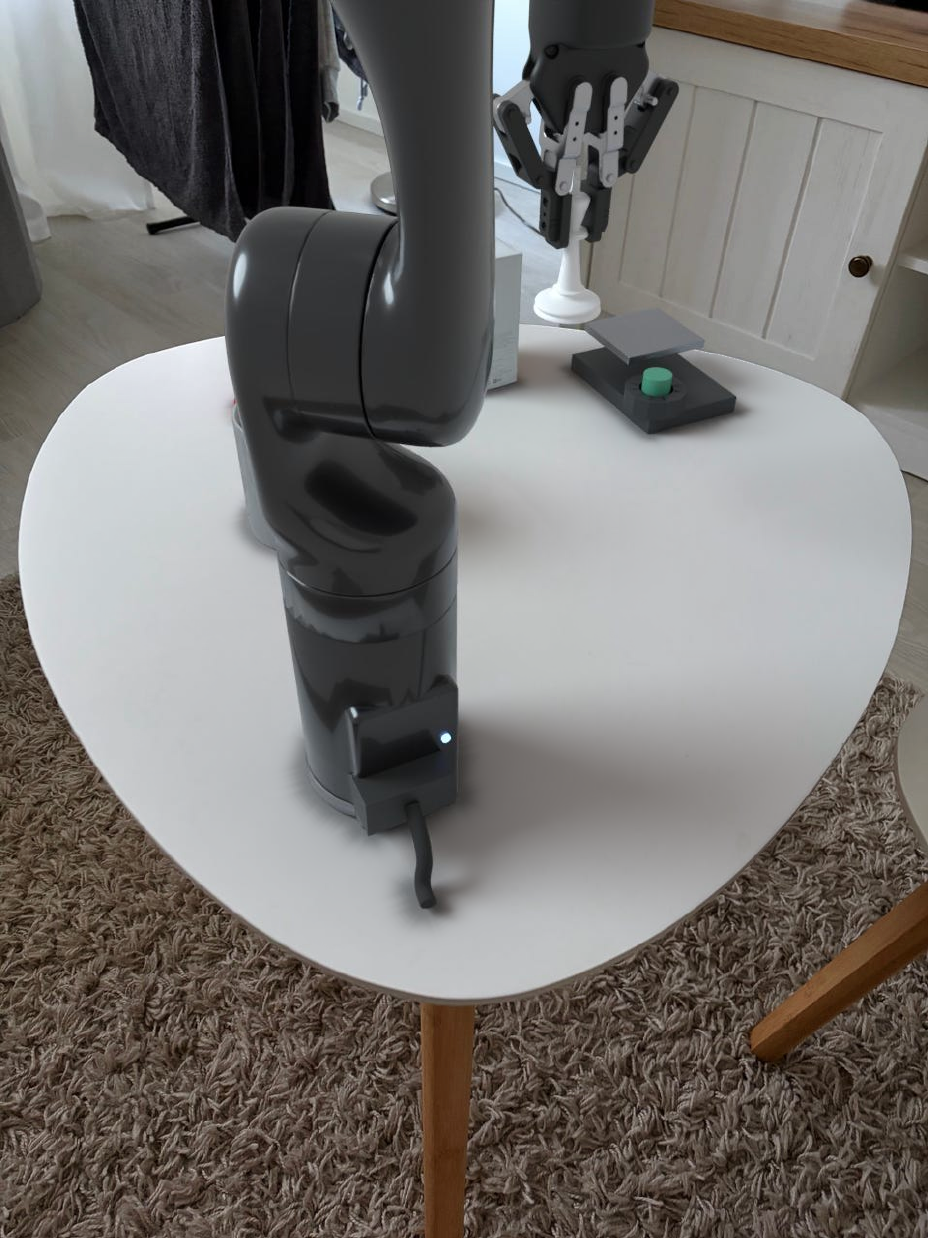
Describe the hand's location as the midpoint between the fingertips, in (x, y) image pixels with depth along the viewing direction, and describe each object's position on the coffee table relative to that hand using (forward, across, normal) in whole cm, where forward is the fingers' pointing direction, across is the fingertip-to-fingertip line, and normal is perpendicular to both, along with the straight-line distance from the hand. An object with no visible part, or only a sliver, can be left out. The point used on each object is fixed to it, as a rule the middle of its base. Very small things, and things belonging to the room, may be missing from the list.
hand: (572, 240), depth 69 cm
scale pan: (+18, +18, +14) cm, 29 cm away
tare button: (+19, +14, +7) cm, 24 cm away
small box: (+22, +3, +22) cm, 31 cm away
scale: (+22, +18, +12) cm, 30 cm away
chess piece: (+5, 0, 0) cm, 5 cm away
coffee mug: (+22, -19, +7) cm, 30 cm away
